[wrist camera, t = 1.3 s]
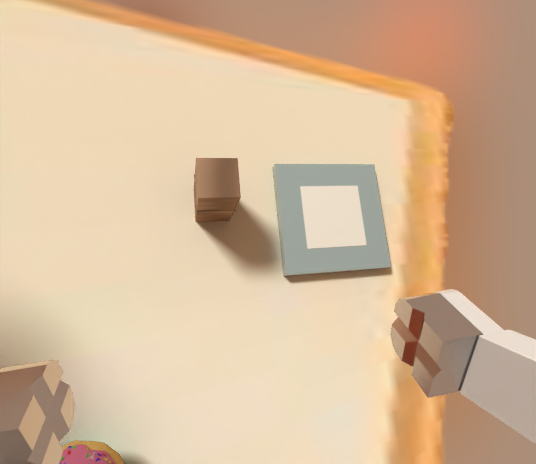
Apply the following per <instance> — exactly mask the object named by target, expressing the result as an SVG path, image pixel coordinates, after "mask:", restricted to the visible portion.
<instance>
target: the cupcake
mask: <svg viewBox="0 0 536 464" xmlns="http://www.w3.org/2000/svg"><path fill="white" fill-rule="evenodd" d="M62 449H63V453H62V456H61V460H60V463H59V464H124V463H123V460H122V458H121V456H120V455H119V454H118V453H117V452H116V451H114V450H113V449H112V448H111V447H109V446H108V445H107V444H105V443H102V442H95V441H73V442H71V443H68V444H66V445H64V446H62Z"/></svg>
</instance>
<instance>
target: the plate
mask: <svg viewBox="0 0 536 464" xmlns="http://www.w3.org/2000/svg"><path fill="white" fill-rule="evenodd" d="M273 177H274V187H275V196H276V206H277V216H278V226H279V235H280V245H281V255H282V265H283V275H284V276H292V275H305V274H318V273H331V272H344V271H357V270H369V269H382V268H389V267H391V263H390V257H389V251H388V245H387V239H386V233H385V227H384V221H383V215H382V209H381V203H380V197H379V191H378V185H377V179H376V173H375V167H374V165H363V164H275V165H274V166H273Z"/></svg>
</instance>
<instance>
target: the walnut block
mask: <svg viewBox="0 0 536 464" xmlns="http://www.w3.org/2000/svg"><path fill="white" fill-rule="evenodd" d="M194 179H195V181H194V201H195V220H196V221H223V220H230V218H231V216H232V214H233V212H234V211H235V208H236V205H237V203H238V201H239V199H240V197H241V196H240V184H239V171H238V159H237V158H196V166H195V175H194Z"/></svg>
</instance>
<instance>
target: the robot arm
mask: <svg viewBox="0 0 536 464" xmlns="http://www.w3.org/2000/svg"><path fill="white" fill-rule="evenodd" d="M394 312H395V313H396V314H397V316H398V318H397V319H396V320H395V322H394V323H393V324H392V328H391V339H392V344H393V347H394V349H395V351H396V353H397V355H398V356H399V358H400V359H401V360H402V361H403V362H405V363H407V364H409V365H410V366H412V376H413V378H414V379H415V380H416V382H417V383H418V385H419V386H420V387H421V389H422V390H423V392H424V393H425V394H426V396H427V397H433V396H438V395H443V394H448V393H453V392H458V391H460V394H462V395H463V396H465V397H466V398H468V399H470V400H471V401H472V402H474V403H475V404H477V405H478V406H480V407H481V408H483V409H485V410H486V411H487V412H489V413H491V414H492V415H494V416H495V417H496V418H498V419H499V420H501V421H502V422H504V423H505V424H507V425H508V426H510V427H511V428H513V429H514V430H516V431H517V432H519V433H520V434H522V435H523V436H525V437H526V438H528V439H529V440H531V441H532V442H534V443H535V444H536V340H535V339H532V338H530V337H527V336H524V335H522V334H520V333H517V332H514V331H512V330H505V331H504V330H503V329H502V328H500V327H499V326H498V325H497V324H496V323H495V322H494V321H493V320H491V319H490V318H489V317H488V316H487V315H486V314H484V313H483V312H482V311H481V310H480V309H478V308H477V307H476V306H475V305H474V304H473V303H472V302H470V301H469V300H468V299H467V298H466V297H465V296H464V295H462V294H461V293H460V292H459V291H457V290H454V289H449V290H444V291H438V292H434V293H429V294H423V295H418V296H413V297H407V298H402V299H399V300H398V301H397V303H396V305H395V310H394ZM62 373H63V370H62V368H61V366H60V365H59V363H58V361H55V360H49V361H43V362H36V363H30V364H23V365H16V366H10V367H3V368H1V369H0V464H59V463H60V460H61V456H62V453H63V449H62V447H61V445H60V443H59V441H60V440H61V439H62V438H63V437H64V436H65V434H66V433H67V432H68V431H69V430H70V427H71V424H72V420H73V415H74V398H73V393H72V390H71V388H70V386H69V385H68V384H66V383H64V382H62V381H60V378H61V376H62Z"/></svg>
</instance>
